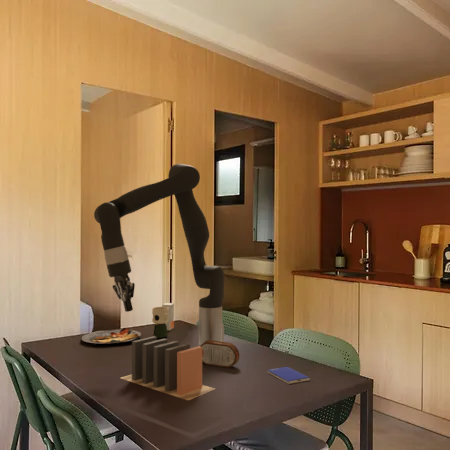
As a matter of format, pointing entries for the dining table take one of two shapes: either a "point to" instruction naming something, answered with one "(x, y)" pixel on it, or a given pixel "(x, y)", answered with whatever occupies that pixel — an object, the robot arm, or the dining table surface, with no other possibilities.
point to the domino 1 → (139, 356)
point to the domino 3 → (161, 363)
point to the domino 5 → (189, 370)
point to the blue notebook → (288, 375)
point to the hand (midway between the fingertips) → (129, 310)
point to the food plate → (111, 336)
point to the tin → (219, 353)
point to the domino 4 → (172, 366)
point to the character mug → (160, 321)
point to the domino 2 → (149, 360)
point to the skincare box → (170, 315)
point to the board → (186, 396)
